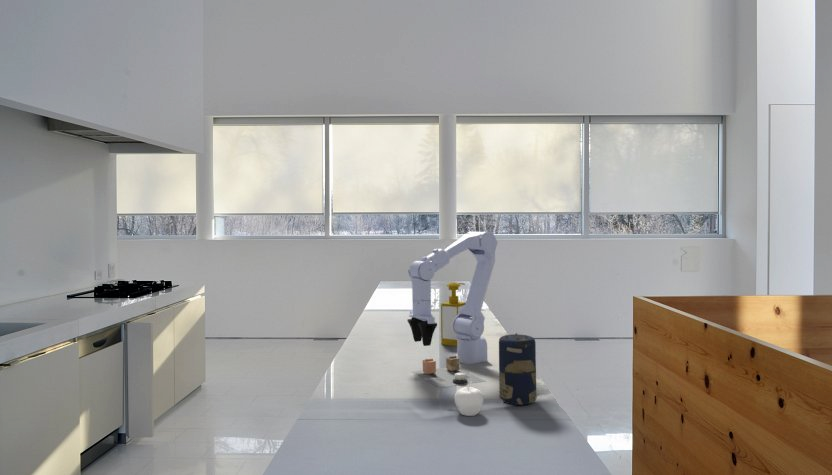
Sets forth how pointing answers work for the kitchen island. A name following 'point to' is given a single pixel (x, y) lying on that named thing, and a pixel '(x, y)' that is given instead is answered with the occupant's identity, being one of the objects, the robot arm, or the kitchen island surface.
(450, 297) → the soap bottle
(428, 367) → the terracotta knob
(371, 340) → the kitchen island surface
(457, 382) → the panel
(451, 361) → the oak knob
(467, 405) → the plain white apple
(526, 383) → the canister
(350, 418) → the kitchen island surface
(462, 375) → the button
